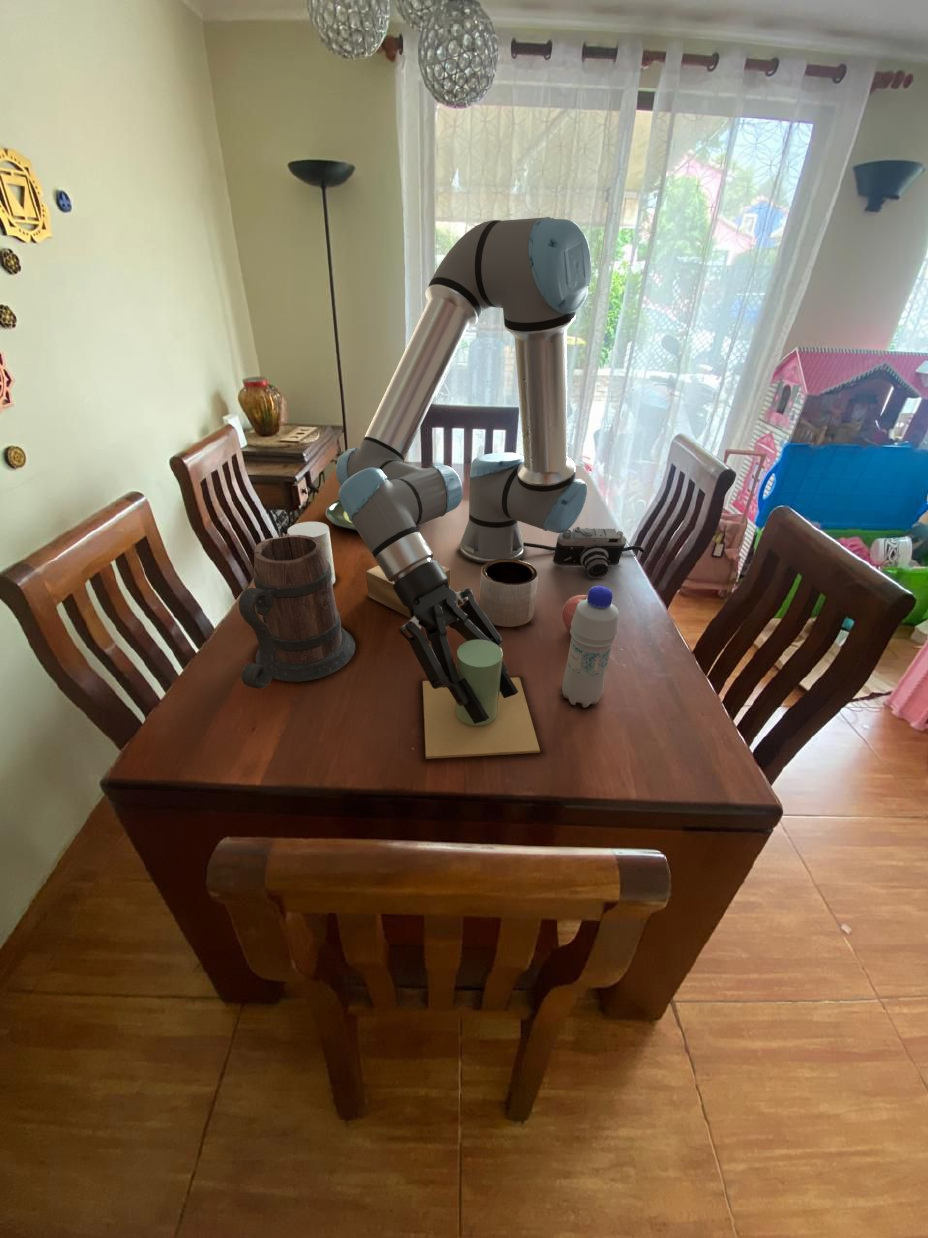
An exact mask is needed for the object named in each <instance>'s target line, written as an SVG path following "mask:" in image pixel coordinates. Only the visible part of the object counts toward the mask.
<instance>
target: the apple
mask: <svg viewBox="0 0 928 1238" xmlns="http://www.w3.org/2000/svg"><path fill="white" fill-rule="evenodd" d="M587 597H588V594H577V595H574V596H572V597H570V598H569V599H568V600H567V601H566V602H565V604H564V606H563V608H562V614H561V615H562V621H563V623H564V626H565V627H566V629H567V630H568V631H569V632H570V630H571V622H572V619H573V617H574V614H575V611H576V608H577V605H578V604H579V603H580V602H581V601H583V600H586V599H587Z"/></svg>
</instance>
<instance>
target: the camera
mask: <svg viewBox="0 0 928 1238" xmlns="http://www.w3.org/2000/svg"><path fill="white" fill-rule="evenodd" d="M623 535H624V532H623V531H621V530H618V531H617V530H616V528H588V527H585V528H581V527H580V526H576V527H574V528H572V530H570V529H568V530H567V531H565V532H563V533H558V536H557V538H556V543H555V547H556V548H555V551H554V553H553V558H552V563H553V564H554V565H555V566H557V567H584V571H585V572H586V574H587V576H588V577H589V578H591V579H593V580H595V579H596V580H597V579H601V578H603V577H605V576H607V575H608V573H609V571H610V568H609V567H616V566H618V565H619V563H620V561H621V557H622V555H623V553H624V552H623V549H624V548H625V547H626V544H627V541H628V540H627V538H626V537H625V536H623Z"/></svg>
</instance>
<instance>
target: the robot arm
mask: <svg viewBox="0 0 928 1238" xmlns="http://www.w3.org/2000/svg"><path fill="white" fill-rule="evenodd" d="M591 280H592V255H591V249H590V245H589V242H588V240H587V237H586V235H585V233H584V231H582V230H581V227H580V225H578V224H577V223H576V222H575V221H573V220H571V219H566V218H554V217H550V216H546V217H533V218H532V217H531V218H519V219H506V220H505V219H504V220H500V219H492V220H487V221H483V222H481V223H479V224H477V225H475V226H473V227H472V228H471V229H469V230H468V231H467V232H465V233H464V234H463V236H461V237H460V238H459V239H458V240H457V241H456V242H455V243H454V244H453V246H452V247H451V248H450V250H449V251H448V252H447V254H446V255H445V256H444V257H443V259H442V260H441V262H440V264H439V265H438V266H437V268H436V270H435V272H434V274H433V276H432V277H431V279H430V282H429V283H428V286H427V288H426V290H425V294H424V295H425V299H426V305H425V307H424V309H423V311H422V314H421V315H420V318H419V319H418V322H417V324H416V326H415V328H414V330H413V333H412V335H411V337H410V339H409V341H408V343H407V346H406V347H405V350H404V352H403V354H402V356H401V358H400V360H399V362H398V364H397V367H396V369H395V370H394V373H393V375H392V377H391V380H390V381H389V384H388V386H387V387H386V390H385V392H384V393H383V394H384V395H383V396H382V399H381V401H380V403H379V405H378V407H377V409H376V411H375V413H374V415H373V418H372V419H371V422H370V424H369V425H368V428H367V430H366V433H365V434H364V438H363V439H362V441H361V443H360V445H359V447H357V448H355V447H353V448H348V449H346V450H345V451H343V453H342V454H340V455H339V457H338V459H337V462H336V466H335V476H336V480H337V482H338V484H339V486H340V487H339V490H338V494H337V495H338V500H339V499H340V501H341V504H342V506H343V508H344V510H345V511H346V513H347V515H348V517H349V520H350V521H351V522H352V523H353V525H354V526H355V528H356V530H355V531H356V532H357V533H358V534H359V536H360V537H361V539H362V540H363V543H365V545H366V547H367V548H368V550H369V552H370V554H371V555H372V556H373V558H374V560H375V561H376V563H377V565H379V566H380V568H381V569H382V571H383V573H384V574H385V576H386V577H387V579H388V581H391V582H393V581H394V582H395V584H394V585H393V586H394V587H393V589H394V591H395V592H396V594H397V596H398V597H399V599H400V601H401V602H402V604H403V605H404V606H406V607H407V608H408V609H409V612H410V619H408V621H407V622H405V624H403V625H402V626H400V627H399V629H398V631H399V634H400V635H401V636H402V637H403V638H404V640H406V641H407V642H408V644H409V645H410V648H411V650H412V651H413V653H414V655H415V657H416V658H417V661H418V663H419V665H420V667H421V669H422V671H423V672H424V674H425V676H426V679H427V681H429V682H430V684H431V686H432V687H433V688H434V689H437V688H441V687H442V688H445V687H447V688H448V689H449V691H450V692H451V694H452V696H453V697H454V699H455V700H456V702H457V704H458V705H460V706H462V705H463V706H464V707H465V709H466V711H467V712H468V714H469V716H470V717H471V719H472V720H473V722H474V724H476V723H479V722H483V721H486V720H487V719H488V718H489V716H488V715H487V713H486V711H485V710H484V708H483V706H482V705H481V703H480V702H479V700H478V698H477V697H476V695H475V693H474V692H473V690H472V689H471V687H470V685H469V684H468V682H467V680H466V679H465V678H463V679H461V680H459V676H458V673H457V669H456V668H457V665H456V663H455V660H454V657H453V654H452V649H451V647H450V643H449V640H448V629H447V627H448V628H450V629H453V630H455V631H456V632H457V633H458V634H459V635H460V636H461V637H463V638H464V640H466V642H467V641H470V640H487V641H490V642H493V643H495V644H496V645H498V646H499V647H500V648H501V649H502V646H501V645H502V644H503V642H504V640H503V638H502V636H501V635H500V633H499V632H498V630H497V629H496V628H495V625H493V624H491V622H490V621H489V619H488V618H487V616H486V615H485V614H484V612H483V611H482V609H481V608H480V607H479V603H478V602H477V601H476V598H475V595H474V593H473V590H472V589H471V588H470V587H466V588H465V589H462V590H461V591H456V590H454V589H453V588H452V587H451V585H450V586H449V585H448V577H447V576H446V574H445V572H444V571H443V569H442V567H441V566H442V565H441V564H440V562H439V561H438V560H436V559H433V558H434V552H433V550H432V549H431V548H430V546H429V544H428V543H427V541H426V540H425V538H424V536H423V534H421V532H420V530H419V528H418V526H420V525H422V524H424V523H427V522H430V521H433V520H435V519H438V518H440V517H441V518H442V517H444V516H445V515H446V514H447V513H450V512H452V511H453V510H455V509H457V508H458V507H459V505H461V502H462V500H463V494H464V492H463V490H464V489H463V483H462V479H461V478H460V476H459V474H458V473H457V471H455V470H454V469H453V468H452V467H450V466H449V465H446V464H438V465H430V466H428V467H427V468H422V467H419V466H415V465H412V464H408V463H405V461H406V458H407V455H408V453H409V450H410V449H411V446H412V444H413V442H414V441H415V438H416V437H417V434H418V432H419V430H420V428H421V426H422V424H423V422H424V419H425V417H426V416H427V413H428V411H429V410H430V407H431V405H432V403H433V400H434V399H435V396H436V395H437V393H438V390H439V388H440V386H441V384H442V382H443V380H444V378H445V376H446V373H447V372H448V370H449V368H450V365H451V363H452V361H453V359H454V356H455V355H456V353H457V350H458V349H459V346H460V344H461V342H462V340H463V338H464V336H465V334H466V332H467V331H468V330H467V329H471V328H473V327H474V326H476V324H477V322H478V321H479V319H480V316H481V315H482V313H484V312H485V311H486V310H488V309H489V308H499V309H502V314H503V315H502V316H503V324H504V328H505V330H506V331H507V332H508V333H510V334H511V335H512V336H513V337H514V346H515V359H516V373H517V374H516V375H517V386H518V401H519V411H520V412H519V414H520V428H521V439H522V440H521V441H522V453H523V455H522V454H521V453H515V452H492V453H486V454H482V455H479V456H477V457H475V458H474V459H473V460H472V462H471V466H470V473H469V477H468V478H469V493H468V494H469V496H468V497H469V498H468V499H469V500H468V522H467V524H466V527H465V529H464V532H463V535H462V537H461V540H460V547H459V548H460V549H459V551H460V554H461V555H462V556H463V558H465V559H466V560H469V561H471V562H473V563H476V564H479V565H485V564H486V563H488V562H490V561H493V560H497V559H515V560H520V559H521V558H522V557H523V555H524V547H527V548H535V549H542V550H547V551H551V552H552V551H553V552H555V548H556V546H550V545H545V544H540V543H532V542H527V541H526V542H524V540H523V537H522V532H521V529H520V525H519V522H520V523H522V524H526V525H529V526H531V527H535V528H538V529H540V530H543V531H545V532H551V533H554V534H560V533H563V532H565V531H567V530H570V529H571V528H572V527H573V526H574V524H575V523H576V521H577V520H578V519H579V517H580V514H581V513H582V511H583V508H584V506H585V504H586V500H587V494H588V486H587V485H588V484H587V483H586V482H585V481H584V480H582V479H581V478H577V477H576V464H575V462H574V461H573V460H572V459H571V458H570V457H568V377H567V376H568V369H567V368H568V367H567V364H568V359H567V357H568V356H567V330H568V328H569V327H570V326H571V325H572V324H573V322H574V321H575V320H576V316H577V315H576V311H578V310H579V309H580V308H581V307H582V306H583V305H584V303H585V301H586V299H587V297H588V294H589V289H588V287H589V286H591ZM633 550H638V551H639V552H641V553H646V550H645V548H643V547H642V546H640V545H629V546H624V549H623V552H622V553H624V552H629V551H633ZM440 565H441V566H440ZM422 627H423V628H424V631H425V633H424V632H423V631H422ZM510 678H511V677H510V676H509V674H508V667H507V665H506V663H505V662H504V660H503V659H502V669H501V680H500V692H501V694H502V696H503V697H504V698H507V697H510V696H513V695H515V694H517V693H518V690H517V688H516V687H515V685H514V684H513V682H512V680H511V679H510Z"/></svg>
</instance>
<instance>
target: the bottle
mask: <svg viewBox="0 0 928 1238" xmlns="http://www.w3.org/2000/svg"><path fill="white" fill-rule="evenodd" d="M587 596H588V597H587V599H586V600H583V601H581V602H580V603H579V604H578V605H577V608H576V611H575V614H574V617H573V619H572V622H571V630H570V631H569V634H570V636H571V637H570V643H569V649H568V655H567V662H566V667H565V670H564V673H563V677H562V682H561V683H562V684H561V690H562V691H561V692H562V695H563V697H564V699H567V700H568V701H569V703H570V704H571V705H573V706H576V704H577V703H579V704H581V707H582V708H588V707H589V706H590V705H595V704H597V703H598V702H599V701H600V700H601V697H602V694H603V691H604V687H605V679H606V673H607V672H606V671H607V668H608V663H609V659H610V656H611V655H610V654H611V650H612V645H613V644H614V643H615V641H616V639H617V635H618V632H619V618H620V617H619V615H620V612H619V608H617V607H616V606H615V604H613V603H612V602H613V597H614V595H613V591H612V590H611V589H610V588H609V587H607V586H602V585H595V586H592V587H591V588H590V589H589V590H588V593H587Z"/></svg>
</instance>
